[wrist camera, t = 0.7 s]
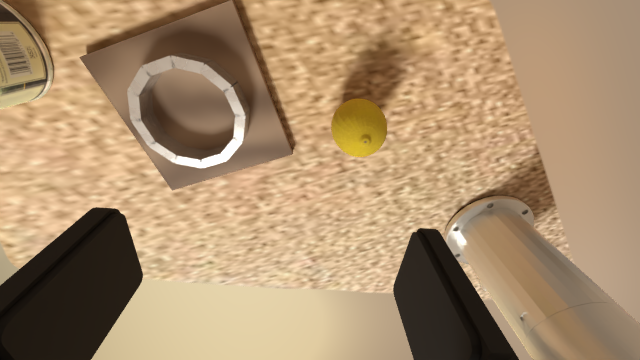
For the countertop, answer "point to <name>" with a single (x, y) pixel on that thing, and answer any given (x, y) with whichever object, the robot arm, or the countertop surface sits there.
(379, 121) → the lemon
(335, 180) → the countertop surface
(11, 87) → the coffee can
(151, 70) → the steel ring
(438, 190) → the countertop surface
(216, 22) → the walnut board
